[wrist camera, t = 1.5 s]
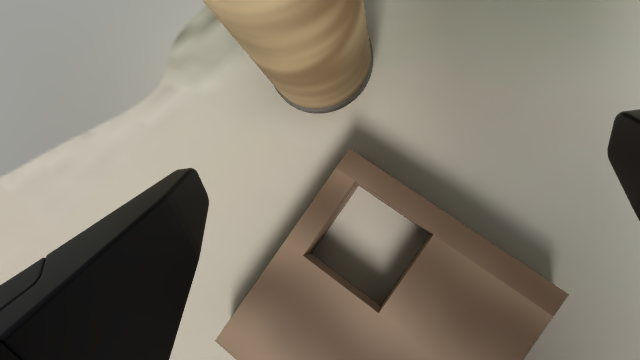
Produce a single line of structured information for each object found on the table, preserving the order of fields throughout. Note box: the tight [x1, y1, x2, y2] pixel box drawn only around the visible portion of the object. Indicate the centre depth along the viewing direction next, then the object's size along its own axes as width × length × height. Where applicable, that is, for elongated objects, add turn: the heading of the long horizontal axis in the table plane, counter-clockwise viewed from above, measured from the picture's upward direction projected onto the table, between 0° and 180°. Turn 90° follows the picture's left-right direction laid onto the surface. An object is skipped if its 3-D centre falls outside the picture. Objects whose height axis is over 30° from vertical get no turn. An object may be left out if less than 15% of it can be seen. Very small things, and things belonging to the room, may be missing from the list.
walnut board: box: [215, 149, 569, 360], centre depth 21 cm, size 12×12×2 cm
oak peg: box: [203, 0, 373, 113], centre depth 17 cm, size 6×6×13 cm
